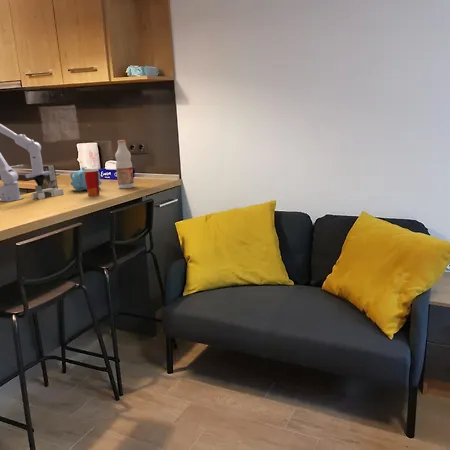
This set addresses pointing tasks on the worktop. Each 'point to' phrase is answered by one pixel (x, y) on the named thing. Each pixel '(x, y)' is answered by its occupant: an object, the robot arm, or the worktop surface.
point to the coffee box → (49, 177)
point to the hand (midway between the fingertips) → (40, 189)
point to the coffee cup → (92, 181)
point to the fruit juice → (124, 166)
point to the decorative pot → (80, 180)
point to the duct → (53, 192)
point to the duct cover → (39, 189)
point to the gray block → (47, 194)
